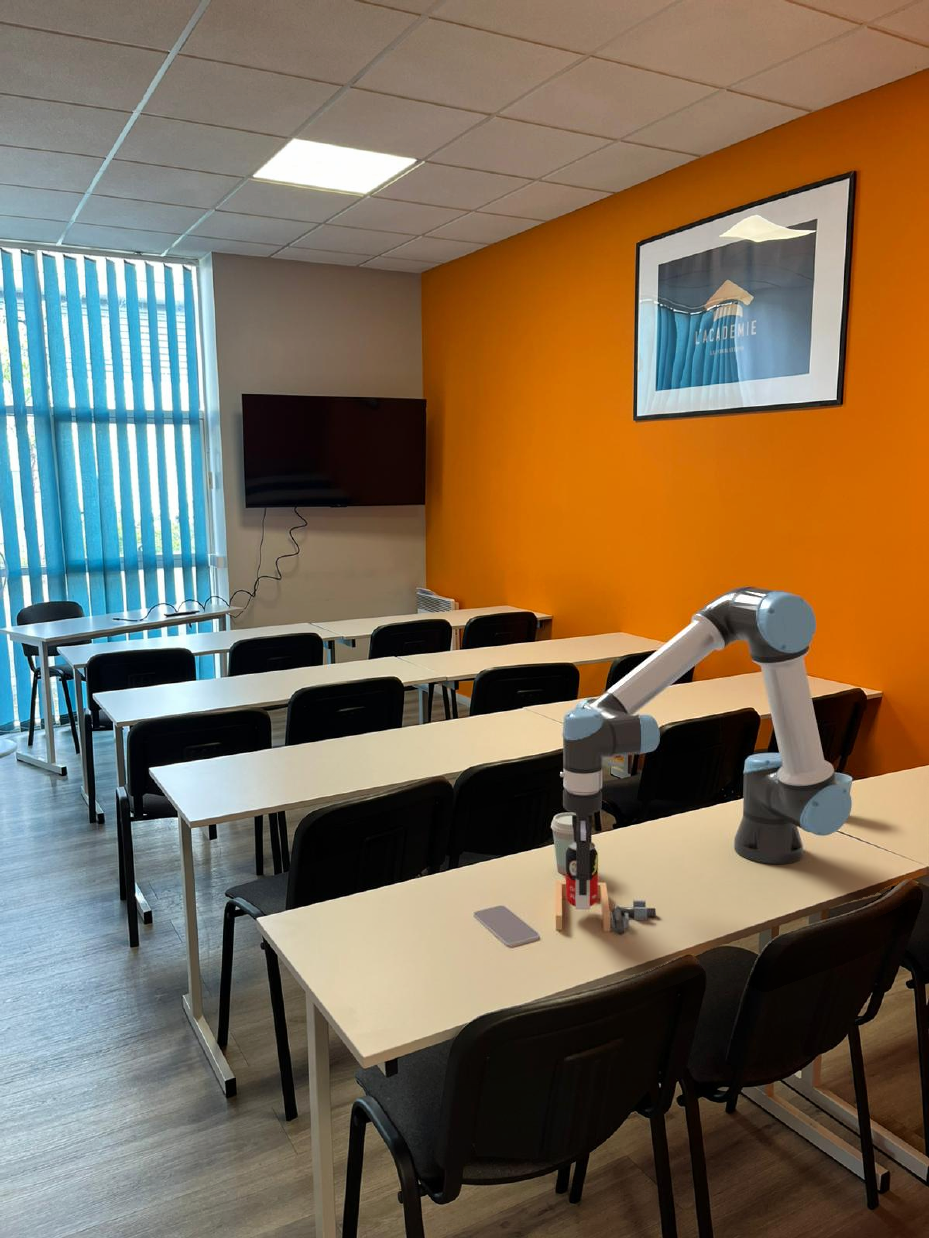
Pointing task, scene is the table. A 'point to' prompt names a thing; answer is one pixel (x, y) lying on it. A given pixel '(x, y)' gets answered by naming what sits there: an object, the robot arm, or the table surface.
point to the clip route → (637, 911)
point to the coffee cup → (562, 838)
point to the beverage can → (572, 871)
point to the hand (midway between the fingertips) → (582, 900)
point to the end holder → (601, 895)
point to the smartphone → (506, 925)
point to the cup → (844, 781)
